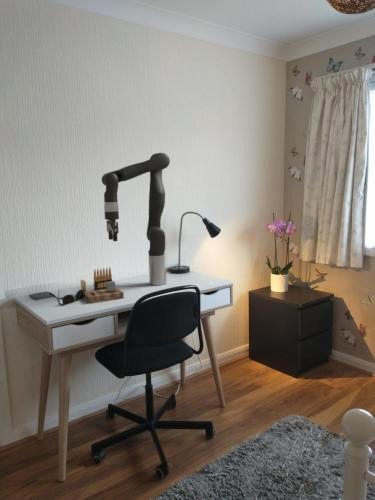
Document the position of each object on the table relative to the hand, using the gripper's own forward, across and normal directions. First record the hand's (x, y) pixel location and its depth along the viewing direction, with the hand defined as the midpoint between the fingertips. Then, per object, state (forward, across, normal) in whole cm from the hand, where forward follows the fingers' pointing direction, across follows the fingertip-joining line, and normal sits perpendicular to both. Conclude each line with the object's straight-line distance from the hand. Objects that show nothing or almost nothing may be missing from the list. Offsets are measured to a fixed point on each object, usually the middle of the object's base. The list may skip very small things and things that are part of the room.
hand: (113, 240), depth 221 cm
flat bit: (+28, -1, +18) cm, 33 cm away
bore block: (+28, -12, +10) cm, 32 cm away
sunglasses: (+29, -6, +28) cm, 41 cm away
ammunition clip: (+28, +7, +5) cm, 30 cm away
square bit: (+28, -12, +6) cm, 31 cm away
